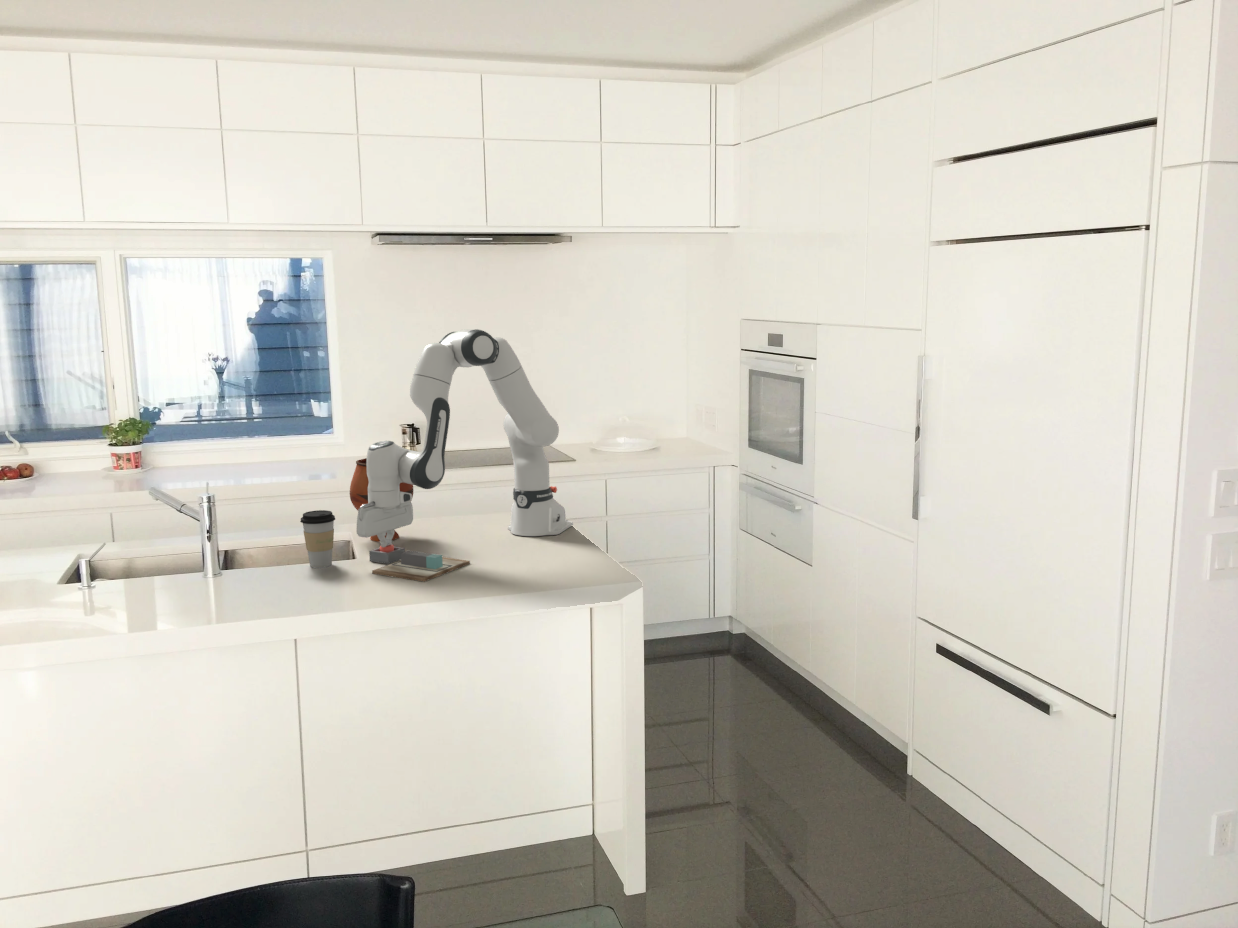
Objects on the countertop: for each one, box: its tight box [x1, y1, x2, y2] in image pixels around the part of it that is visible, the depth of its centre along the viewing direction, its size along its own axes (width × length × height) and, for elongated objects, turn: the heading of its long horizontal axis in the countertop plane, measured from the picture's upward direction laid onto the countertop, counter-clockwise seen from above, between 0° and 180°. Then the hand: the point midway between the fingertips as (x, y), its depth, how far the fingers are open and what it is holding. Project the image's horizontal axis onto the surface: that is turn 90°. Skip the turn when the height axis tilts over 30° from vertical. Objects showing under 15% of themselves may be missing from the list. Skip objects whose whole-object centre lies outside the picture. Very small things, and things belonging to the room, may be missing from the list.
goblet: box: [349, 457, 414, 543], centre depth 312 cm, size 19×19×25 cm
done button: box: [379, 544, 395, 553], centre depth 288 cm, size 4×4×3 cm
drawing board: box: [371, 556, 471, 583], centre depth 279 cm, size 20×18×1 cm
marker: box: [401, 549, 443, 569], centre depth 279 cm, size 12×3×3 cm, turn 62°
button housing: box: [368, 546, 406, 565], centre depth 289 cm, size 7×7×3 cm
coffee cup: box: [300, 509, 336, 569], centre depth 282 cm, size 9×9×15 cm
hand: (386, 546), depth 288 cm, fingers closed, pressing on done button
